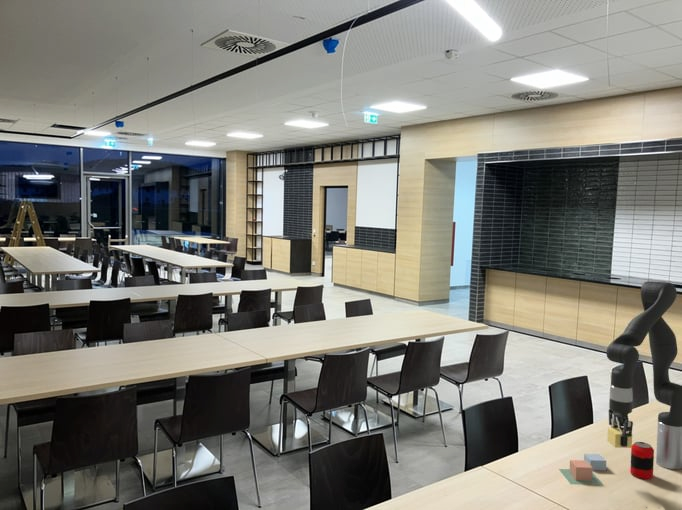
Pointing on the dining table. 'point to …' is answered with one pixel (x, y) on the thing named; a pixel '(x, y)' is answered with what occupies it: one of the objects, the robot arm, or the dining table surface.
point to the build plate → (572, 481)
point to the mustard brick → (617, 438)
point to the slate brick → (595, 461)
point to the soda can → (642, 460)
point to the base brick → (581, 470)
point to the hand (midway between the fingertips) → (619, 442)
